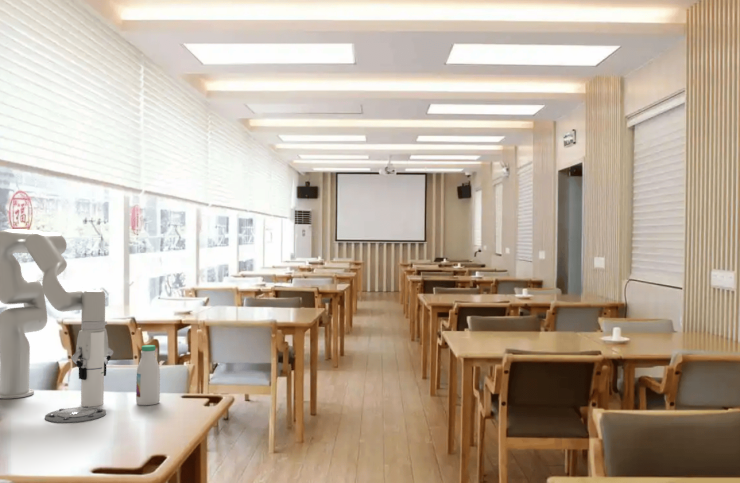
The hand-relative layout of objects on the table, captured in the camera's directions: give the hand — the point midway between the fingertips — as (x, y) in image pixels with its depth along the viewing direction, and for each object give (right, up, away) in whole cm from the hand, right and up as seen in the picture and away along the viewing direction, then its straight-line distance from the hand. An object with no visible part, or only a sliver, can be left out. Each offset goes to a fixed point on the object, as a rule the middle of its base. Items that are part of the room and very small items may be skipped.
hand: (92, 377), depth 233 cm
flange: (+1, -9, -16) cm, 18 cm away
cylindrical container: (0, -10, 0) cm, 10 cm away
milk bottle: (+18, -10, +2) cm, 21 cm away
